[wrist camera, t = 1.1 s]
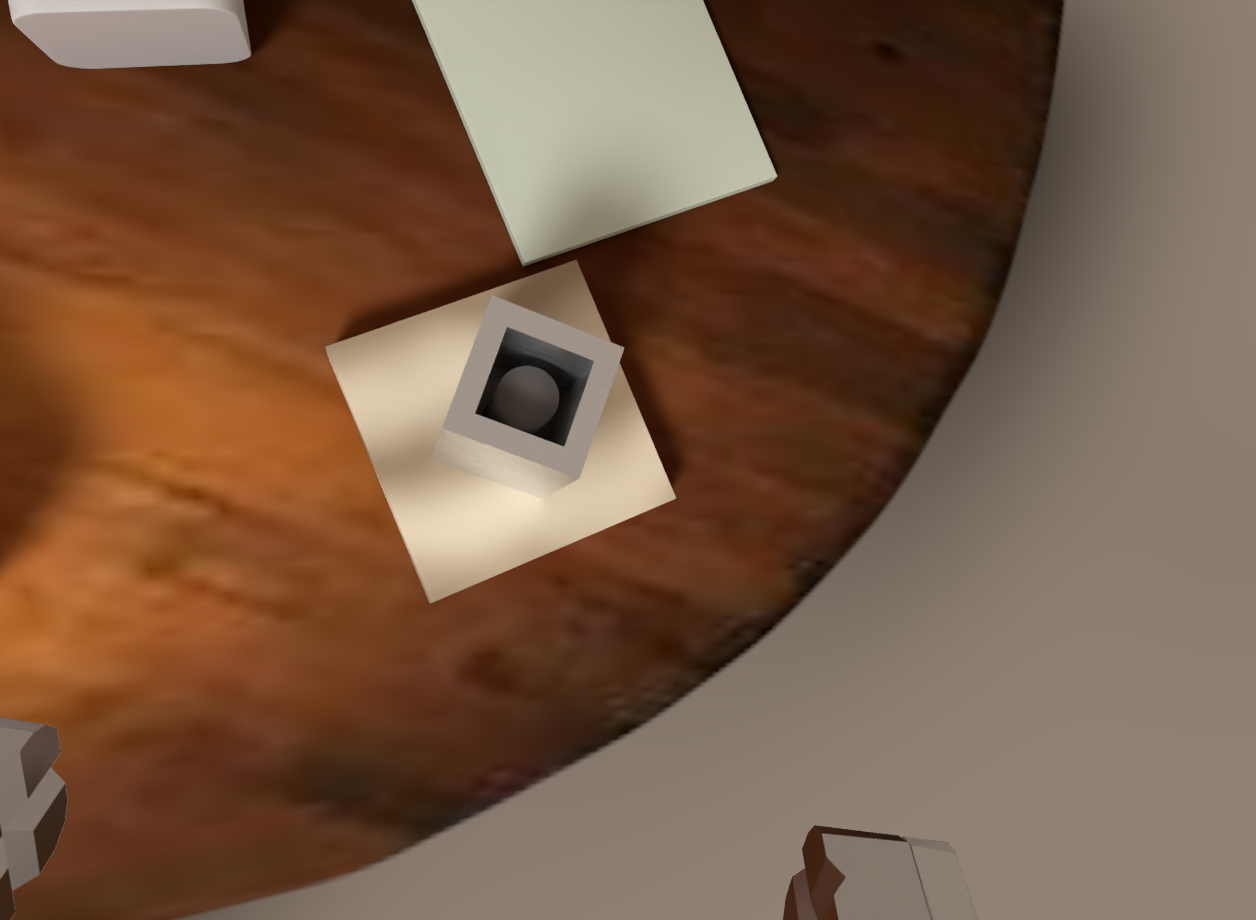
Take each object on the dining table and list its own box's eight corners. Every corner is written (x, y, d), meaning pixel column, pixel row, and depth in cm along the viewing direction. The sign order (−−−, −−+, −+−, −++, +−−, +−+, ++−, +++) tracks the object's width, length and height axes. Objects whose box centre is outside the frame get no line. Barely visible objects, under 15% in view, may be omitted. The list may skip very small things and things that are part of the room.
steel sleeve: (541, 499, 45) (579, 478, 36) (430, 458, 44) (441, 428, 35) (579, 392, 46) (624, 347, 37) (471, 351, 45) (492, 295, 36)
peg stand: (328, 356, 45) (314, 303, 37) (568, 272, 48) (608, 204, 40) (428, 602, 45) (439, 606, 36) (664, 501, 48) (726, 483, 40)
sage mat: (411, -1, 48) (412, -8, 48) (668, -67, 52) (671, -75, 51) (522, 266, 48) (524, 263, 47) (772, 181, 52) (777, 176, 51)
